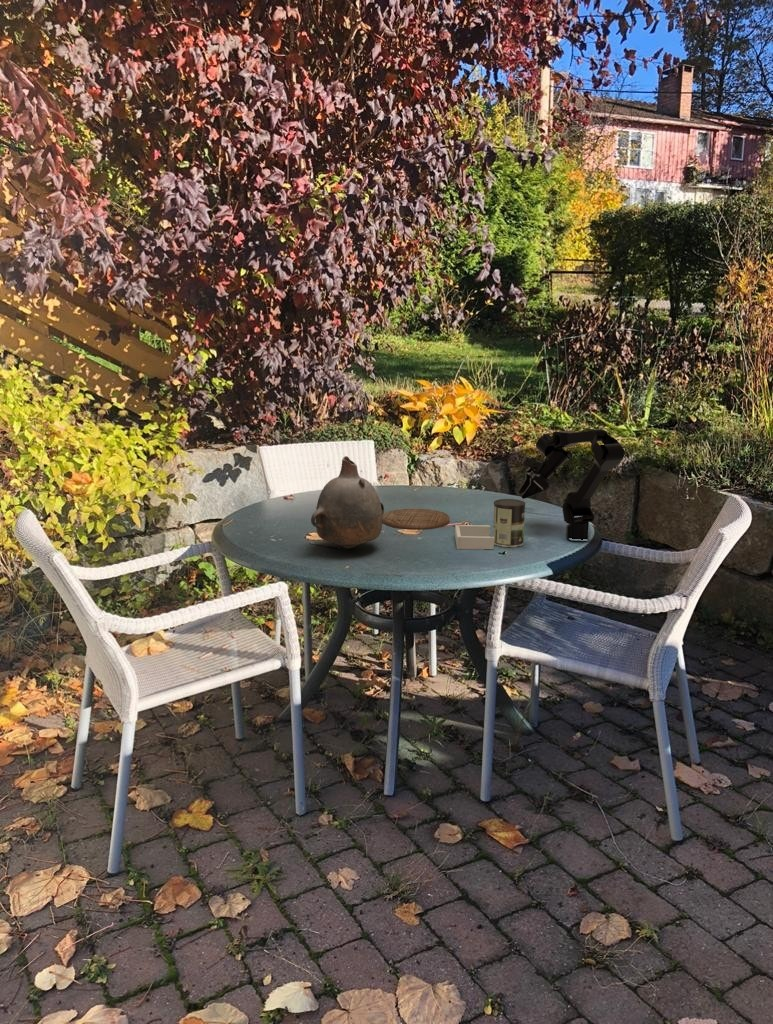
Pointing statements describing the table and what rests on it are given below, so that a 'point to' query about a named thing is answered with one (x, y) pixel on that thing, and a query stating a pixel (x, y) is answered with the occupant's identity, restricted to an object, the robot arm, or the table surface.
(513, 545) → the coffee can
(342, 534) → the jug
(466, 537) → the frame
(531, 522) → the table surface
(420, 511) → the trivet
